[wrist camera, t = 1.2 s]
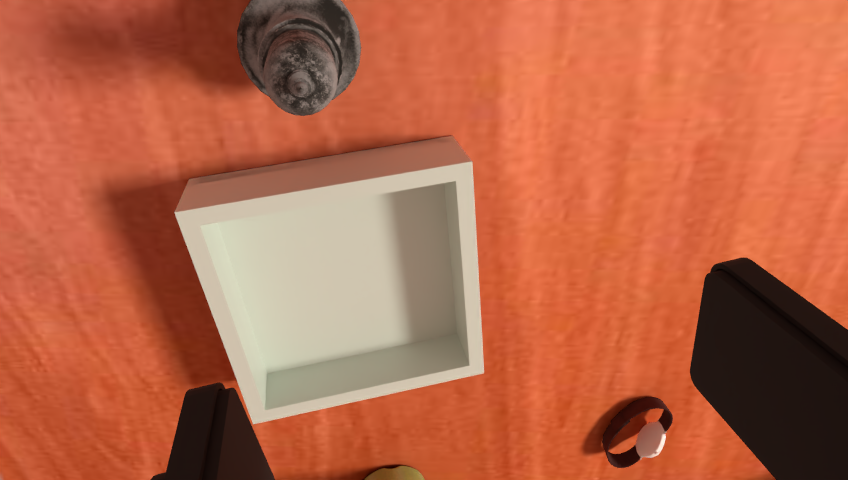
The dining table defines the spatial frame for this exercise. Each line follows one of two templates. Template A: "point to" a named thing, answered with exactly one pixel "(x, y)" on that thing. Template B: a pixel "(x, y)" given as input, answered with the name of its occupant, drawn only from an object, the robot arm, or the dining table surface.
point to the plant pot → (396, 474)
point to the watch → (648, 437)
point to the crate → (340, 274)
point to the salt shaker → (299, 51)
